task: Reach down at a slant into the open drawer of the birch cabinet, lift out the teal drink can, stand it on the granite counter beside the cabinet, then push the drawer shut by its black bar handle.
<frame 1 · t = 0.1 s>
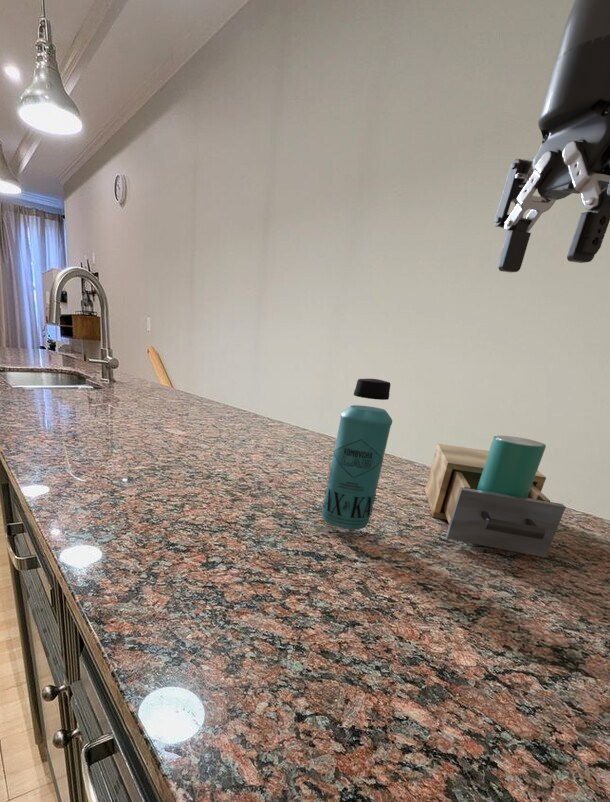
hand: (540, 267, 45), 32 cm above the table, tool pointing down, fingers open, 8 cm apart
drawer: (496, 512, 60), point 4 cm above the table, slide at 9.0 cm, touching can
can: (490, 526, 61), point 2 cm above the table, touching drawer
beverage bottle: (342, 531, 61), on the table
cabinet: (469, 510, 73), on the table
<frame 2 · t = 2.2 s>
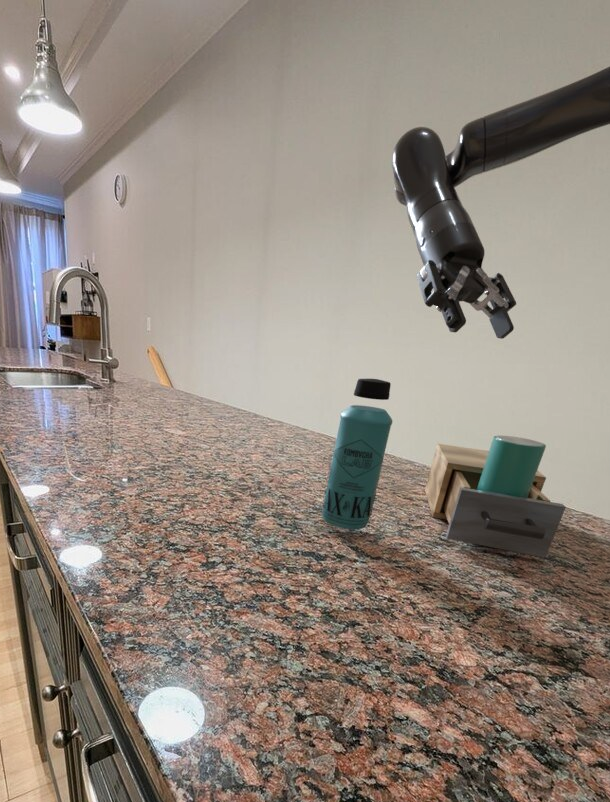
hand: (483, 331, 61), 27 cm above the table, tool tilted 45°, fingers open, 8 cm apart
nothing on the table moved.
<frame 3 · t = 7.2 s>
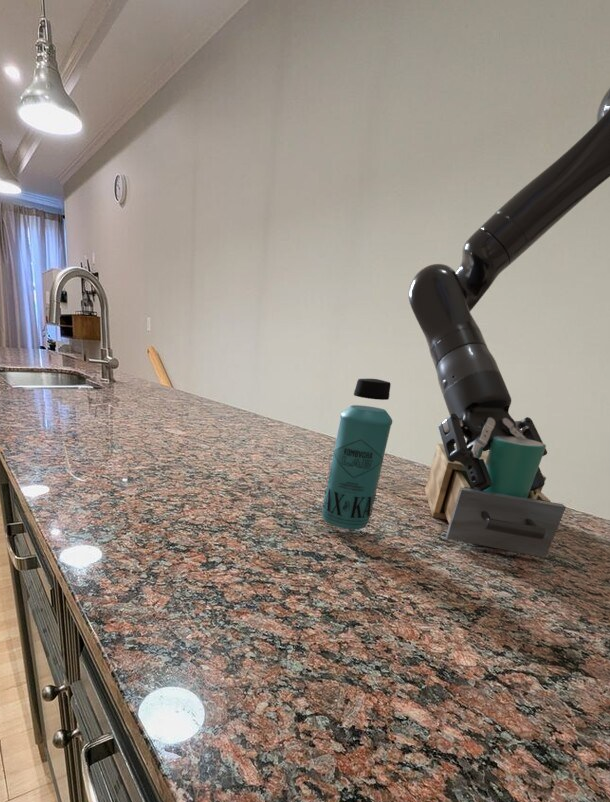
hand: (510, 488, 58), 8 cm above the table, tool tilted 45°, fingers open, 8 cm apart
drawer: (496, 512, 60), point 4 cm above the table, slide at 9.0 cm, touching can, gripper
everything else where it was.
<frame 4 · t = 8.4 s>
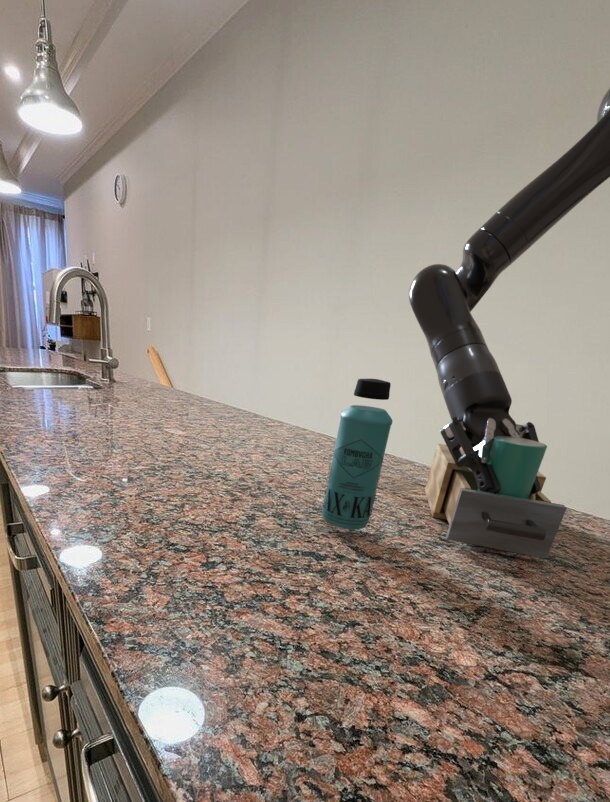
hand: (512, 493, 57), 8 cm above the table, tool tilted 45°, fingers closed on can, 6 cm apart
drawer: (496, 513, 59), point 4 cm above the table, slide at 9.3 cm, touching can
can: (490, 527, 61), point 2 cm above the table, touching drawer, gripper
everything else where it was.
when the fingers open (7 cm above the table, at t = 22.1 s): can drops 1 cm, on the table.
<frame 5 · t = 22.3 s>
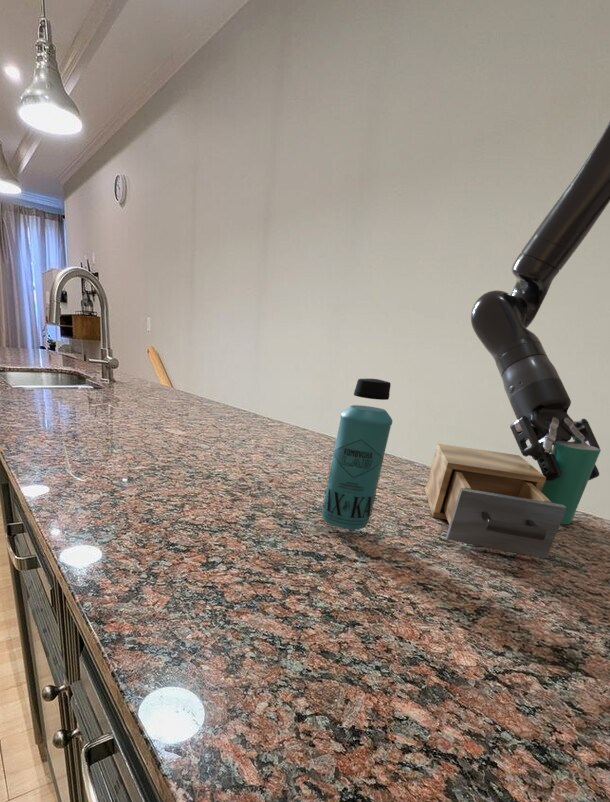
hand: (573, 478, 69), 7 cm above the table, tool tilted 45°, fingers open, 7 cm apart
drawer: (496, 513, 59), point 4 cm above the table, slide at 9.3 cm
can: (549, 517, 73), on the table
everything else where it was.
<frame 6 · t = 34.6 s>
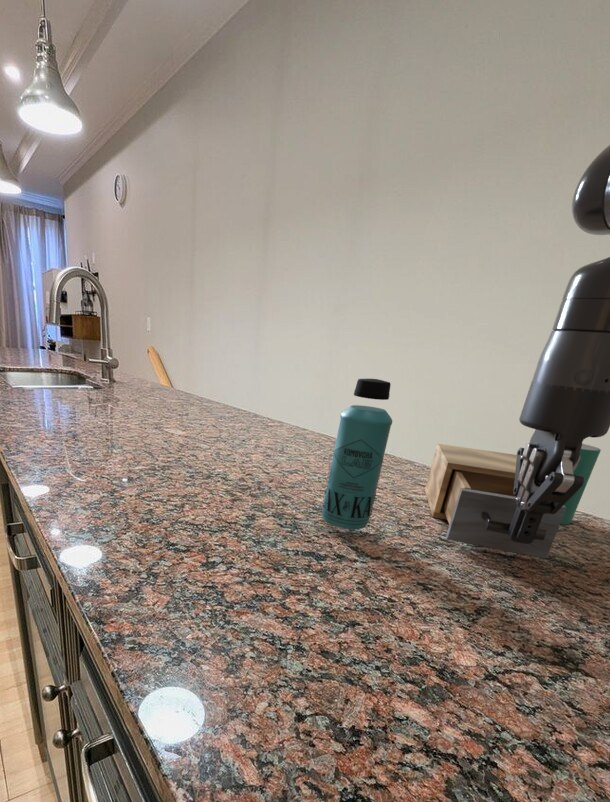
hand: (518, 539, 51), 5 cm above the table, tool pointing down, fingers closed
drawer: (496, 513, 59), point 4 cm above the table, slide at 9.3 cm, touching gripper
everything else where it was.
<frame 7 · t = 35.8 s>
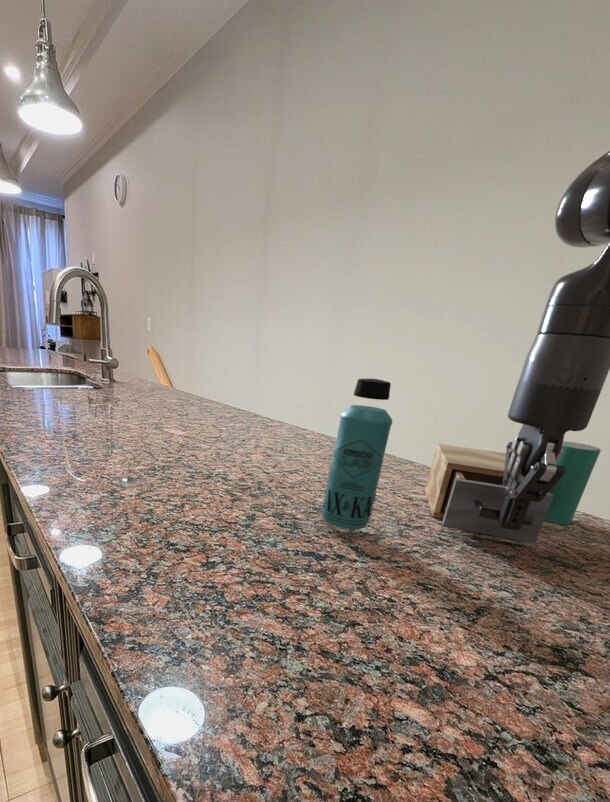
hand: (507, 526, 55), 5 cm above the table, tool pointing down, fingers closed
drawer: (489, 502, 64), point 4 cm above the table, slide at 4.6 cm, touching gripper
everything else where it was.
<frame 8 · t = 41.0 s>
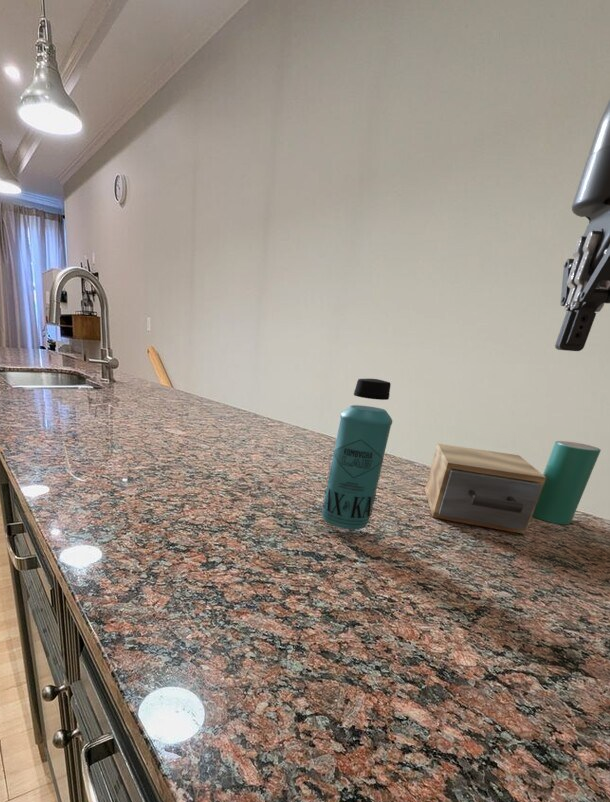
hand: (567, 350, 47), 25 cm above the table, tool pointing down, fingers closed
drawer: (482, 492, 68), point 4 cm above the table, slide at 0.0 cm
everything else where it was.
at the end: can 0.2 cm from the target spot, on the table; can tilted 0°; drawer slide at 0.0 cm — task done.
